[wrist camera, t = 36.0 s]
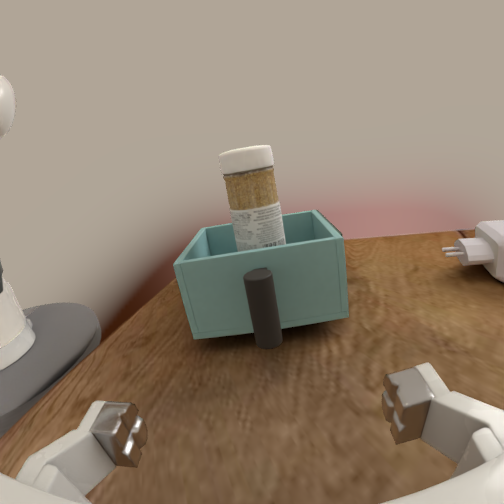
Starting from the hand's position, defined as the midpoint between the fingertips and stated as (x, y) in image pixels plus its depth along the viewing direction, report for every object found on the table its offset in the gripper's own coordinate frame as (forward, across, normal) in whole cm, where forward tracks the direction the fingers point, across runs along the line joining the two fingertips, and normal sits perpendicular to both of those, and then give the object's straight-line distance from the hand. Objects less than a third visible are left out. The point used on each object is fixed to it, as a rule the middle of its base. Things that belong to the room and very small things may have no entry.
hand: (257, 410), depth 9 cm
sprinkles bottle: (+20, 0, +5) cm, 21 cm away
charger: (+19, -26, +7) cm, 33 cm away
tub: (+18, 0, +6) cm, 19 cm away
